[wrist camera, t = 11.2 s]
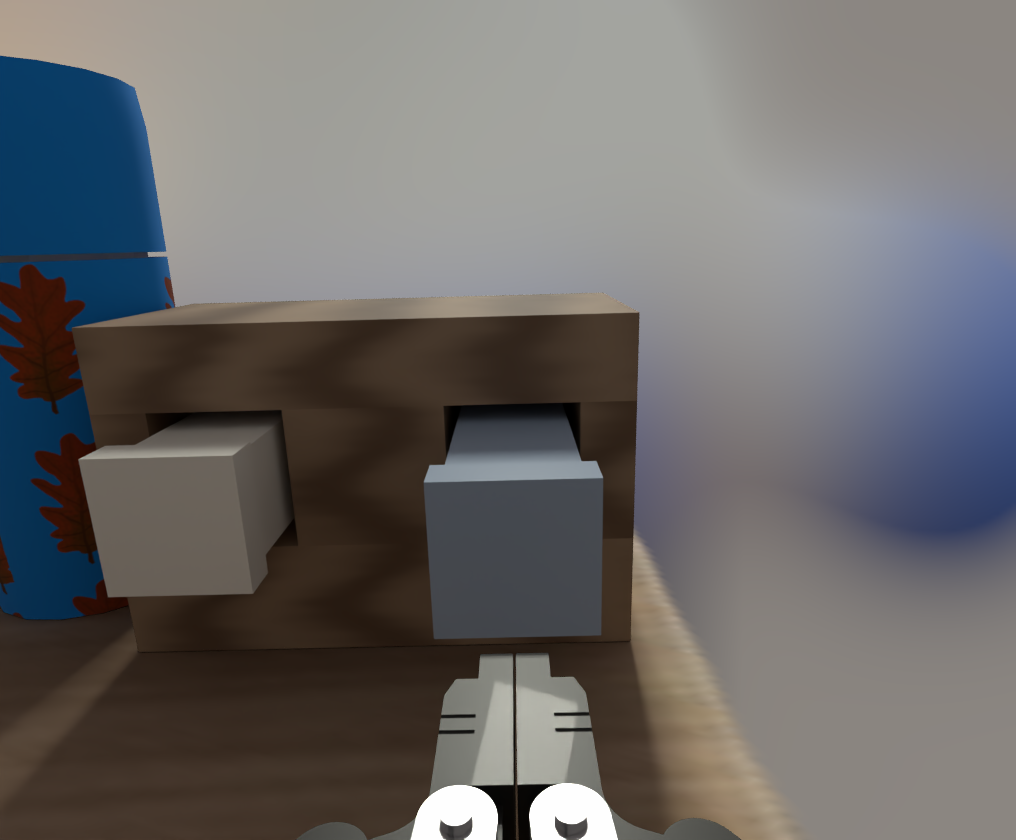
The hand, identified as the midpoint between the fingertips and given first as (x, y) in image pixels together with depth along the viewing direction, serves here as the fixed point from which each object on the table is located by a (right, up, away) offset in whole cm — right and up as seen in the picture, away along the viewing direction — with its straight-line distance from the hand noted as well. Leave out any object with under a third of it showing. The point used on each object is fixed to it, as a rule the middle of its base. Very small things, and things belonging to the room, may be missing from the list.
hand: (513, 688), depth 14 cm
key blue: (0, +1, +11) cm, 12 cm away
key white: (-12, +1, +14) cm, 19 cm away
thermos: (-23, -3, +23) cm, 32 cm away
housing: (-6, -3, +20) cm, 21 cm away
